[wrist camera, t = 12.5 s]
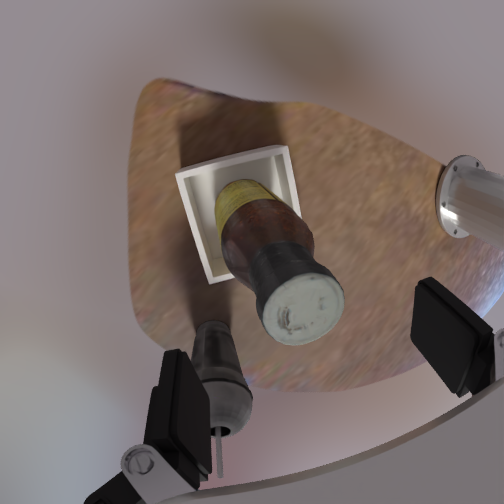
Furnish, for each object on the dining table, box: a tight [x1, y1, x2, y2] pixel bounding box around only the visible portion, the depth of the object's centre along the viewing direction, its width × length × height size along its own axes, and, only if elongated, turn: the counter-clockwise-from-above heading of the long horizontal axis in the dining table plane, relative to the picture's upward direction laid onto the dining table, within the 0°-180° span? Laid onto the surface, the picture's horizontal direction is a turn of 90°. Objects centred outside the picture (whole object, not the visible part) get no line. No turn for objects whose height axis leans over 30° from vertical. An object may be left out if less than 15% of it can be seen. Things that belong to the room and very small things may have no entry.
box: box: [175, 145, 302, 284], centre depth 29 cm, size 10×11×5 cm
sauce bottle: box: [214, 179, 344, 345], centre depth 22 cm, size 6×6×20 cm
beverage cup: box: [191, 321, 253, 478], centre depth 28 cm, size 7×7×20 cm
